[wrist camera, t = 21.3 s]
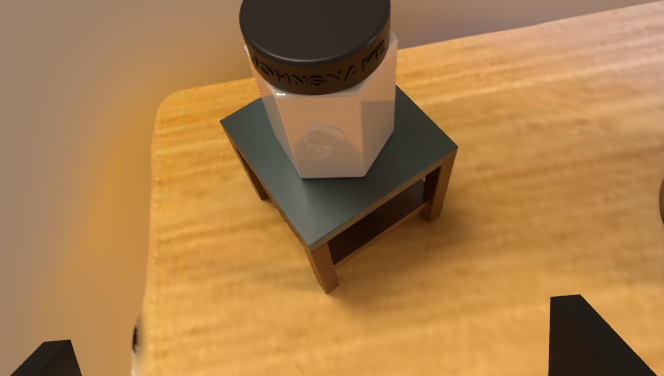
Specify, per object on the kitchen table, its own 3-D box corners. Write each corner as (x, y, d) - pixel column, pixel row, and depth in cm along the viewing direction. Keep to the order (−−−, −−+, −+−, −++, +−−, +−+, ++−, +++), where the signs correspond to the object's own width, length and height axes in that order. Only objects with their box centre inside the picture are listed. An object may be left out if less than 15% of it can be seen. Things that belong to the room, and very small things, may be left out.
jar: (270, 183, 34) (220, 69, 23) (279, 93, 38) (239, -41, 27) (396, 180, 33) (402, 60, 23) (391, 88, 37) (395, -51, 26)
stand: (359, 125, 50) (354, 42, 40) (440, 215, 45) (458, 146, 34) (255, 190, 48) (219, 120, 37) (326, 294, 42) (308, 247, 31)
